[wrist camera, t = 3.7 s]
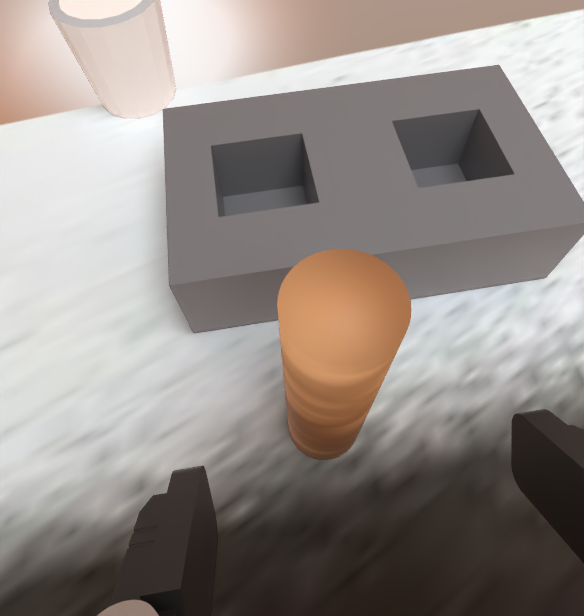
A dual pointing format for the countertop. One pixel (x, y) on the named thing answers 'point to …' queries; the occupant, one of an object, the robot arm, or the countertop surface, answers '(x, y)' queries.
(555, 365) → the countertop surface
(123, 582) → the robot arm
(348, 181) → the hole block
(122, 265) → the countertop surface
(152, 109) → the shot glass
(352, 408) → the peg
